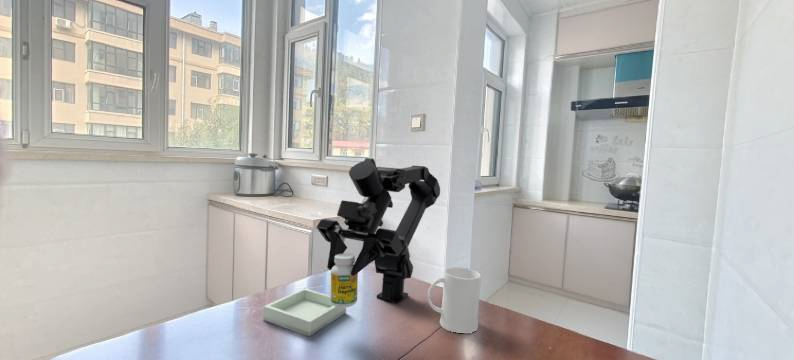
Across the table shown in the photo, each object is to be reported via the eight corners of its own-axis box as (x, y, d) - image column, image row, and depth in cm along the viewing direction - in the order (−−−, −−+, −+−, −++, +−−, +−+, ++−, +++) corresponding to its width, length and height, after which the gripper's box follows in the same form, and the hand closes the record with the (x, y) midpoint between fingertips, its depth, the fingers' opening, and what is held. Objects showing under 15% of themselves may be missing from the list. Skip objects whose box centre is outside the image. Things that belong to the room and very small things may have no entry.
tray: (303, 300, 84) (304, 288, 84) (345, 313, 78) (346, 300, 78) (263, 319, 72) (264, 306, 72) (309, 336, 67) (309, 321, 67)
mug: (427, 332, 72) (431, 277, 71) (423, 314, 80) (427, 264, 80) (482, 335, 72) (486, 280, 71) (472, 317, 81) (476, 267, 80)
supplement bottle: (351, 295, 72) (352, 251, 72) (361, 305, 67) (362, 257, 67) (326, 299, 69) (327, 253, 69) (335, 310, 65) (336, 260, 64)
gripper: (323, 182, 75) (284, 241, 66) (399, 190, 66) (366, 259, 57) (343, 213, 82) (310, 270, 73) (413, 224, 74) (386, 289, 65)
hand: (340, 271), depth 67 cm, fingers closed on supplement bottle, 5 cm apart
